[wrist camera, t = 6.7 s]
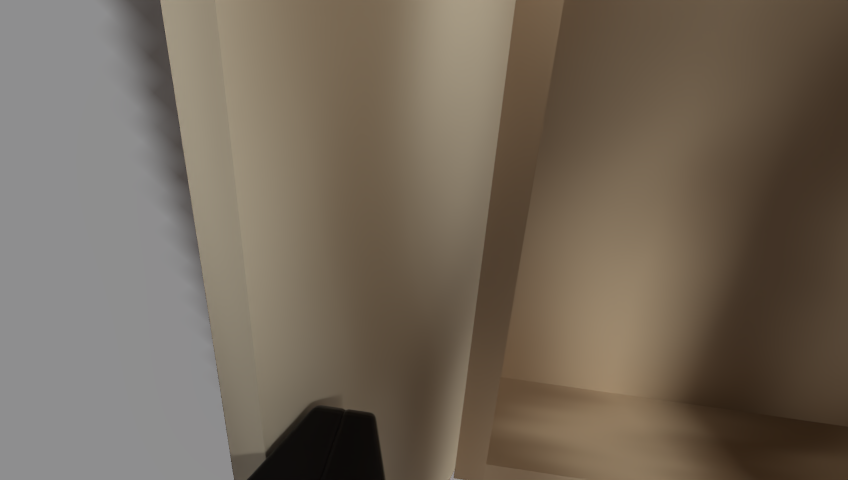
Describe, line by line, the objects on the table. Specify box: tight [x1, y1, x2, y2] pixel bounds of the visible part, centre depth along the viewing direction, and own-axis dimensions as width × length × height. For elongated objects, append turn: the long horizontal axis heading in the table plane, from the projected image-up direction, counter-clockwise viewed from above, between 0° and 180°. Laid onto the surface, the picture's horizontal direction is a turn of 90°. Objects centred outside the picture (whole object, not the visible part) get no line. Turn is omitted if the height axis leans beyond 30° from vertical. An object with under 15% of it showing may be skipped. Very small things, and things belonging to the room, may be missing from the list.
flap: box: [160, 0, 516, 480], centre depth 12 cm, size 8×19×1 cm
